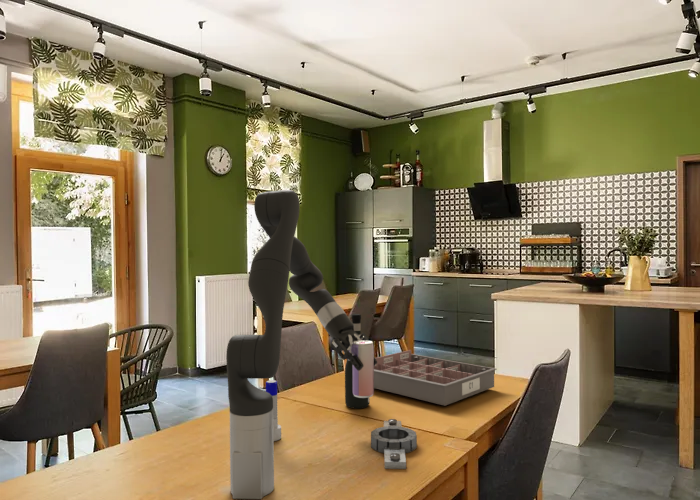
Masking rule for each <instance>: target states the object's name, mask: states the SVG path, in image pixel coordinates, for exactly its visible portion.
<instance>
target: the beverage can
mask: <svg viewBox="0 0 700 500" xmlns="http://www.w3.org/2000/svg"><path fill="white" fill-rule="evenodd" d="M374 347H375V345H374V342H373V341H372V340H369V341H354V342H353V350H354V352H355V356H357V357H358V358H359V360H360V361H361V362H362V364H363V368H362V369H361V370H359V371H358V370H357V369H356V368H355V367H354V365H353V395H354V396H355V397H358V398H368V397H370V398H371V397H373V395H374V394H375V388H374V357H375V354H374V352H375V351H374Z"/></svg>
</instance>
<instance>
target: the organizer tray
mask: <svg viewBox="0 0 700 500" xmlns="http://www.w3.org/2000/svg"><path fill="white" fill-rule="evenodd" d="M375 359H376V360H377V364H376V365H375V366H374V389H377V390H380V391H384V392H389V393H392V394H397V395H400V396H405V397H409V398H413V399H415V400H416V399H417V400H421V401H425V402H429V403H432V404H437V405H441V406H447V405H451V404H453V403H455V402H458V401H460V400H464V399H466V398H469V397H472V396H474V395H477V394H479V393H481V392H484V391H487V390H489V389H493V388H495V371H496V370H497V368H495V367H491V366H489V367H488V366H484V365H479V364H478V365H477V364H471V363H466V362H460V361H455V360H454V361H453V360H449V359H443V358H437V357H431V356H426V355H421V354H414V353H412V349H408V350H405V351H400V352H395V353H391V354H386V355H383V356H379V357H378V356H377V357H375Z"/></svg>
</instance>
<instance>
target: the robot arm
mask: <svg viewBox="0 0 700 500" xmlns="http://www.w3.org/2000/svg"><path fill="white" fill-rule="evenodd" d="M253 205H254V206H253V207H254V214H255V217H256V219H257V221H258V223H259V225H260V227H261V228H262V229H263V231H264V232H265V233H266V235H267V237H269V239H268V240H267V241H266V242H265V243H264V244H263V245H262V246H261V247H260V249H259V250H258V251H257V252H256V253H255V255H254V257H253V258H252V261H251V266H250V271H249V275H248V281H247V282H248V284H247V285H248V289H249V292H250V294H251V297H252V298H253V300H254V303H255V304H256V305H257V307H258V309H259V310H260V313H261V315H262V318H263V320H264V323H265V324H264V325H265V330H264V334H236V335H233V336H232V337H230V339H229V340H228V343H227V347H226V355H225V357H226V374H227V375H226V377H227V388H228V389H227V390H228V391H227V393H228V396H227V397H228V403H229V404H228V405H229V457H230V458H229V461H230V462H229V465H230V466H229V468H230V470H229V471H230V472H229V474H230V477H229V478H230V493H231V496H232V499H235V500H238V499H239V500H241V499H242V500H262V499H263V498H264V497H265V496H267V495H270V494H271V493H272V492H273V490H274V489H275V469H274V468H275V466H274V465H275V460H274V459H275V458H274V455H275V453H274V452H275V451H274V446H275V445H274V444H275V443H274V441H273V398H272V395H271V394H270V393H268V392H266V390H263V389H260V388H259V387H257V386H255V385H253V384H252V382H250V381H249V379H260V380H261V379H263V380H264V379H265V380H266V379H271V378H274V377H275V376H276V374H277V371H278V370H279V365H280V357H281V347H282V345H281V344H282V329H283V327H282V326H283V317H284V309H285V301H286V295H287V289H288V286H289V288H290V290H291V291H292V293H294V294H295V295H296V296H298V297H299V298H300V299H302V300H303V301H304V302H305V303H307V305H308V306H309V307H310V308H311V310H312V311H313V312H314V313H315V315H316V317H317V318H318V320H319V322H320V324H321V325H322V327H323V328H324V329H325V331H326V332H327V334H328V335H329V336H330V338H331V339H332V341H331V343H330V346H331V347H332V348H333V350H334V351H335V352H336V354H337V355H338V356H339V357H340V358H341V359H342V360H343V361H346V360H347V359H348V360H349V361H351V363H352V364H353V365H354V367H355V368H356V369H357V370H358V371H359V370H361V369H362V368H363V364H362V362H361V361H360V360H359V358H358V357H357V356H355V352H354V350H353V342H354V341H370V340H369V338H368V336H367V335H366V333H364V332H362V333H361V335H358V334H357V333H356V332H355V331H354V324H353V323H352V319H350V317H349V316H348V315H347V313H346V312H345V311H344V309H343V308H342V307H341V305H339V303H338V302H337V301H336V299H335V298H334V297H333V296H332V294H331V293H330V292H329V290H327V289H325V288H322V289H318V290H315V291H314V289H316V288H317V287H319V286H321V285H322V283H323V281H324V275H323V273H322V271H321V270H320V269H319V268H318V267H317V265H315V263H313V262H312V260H311V258H310V255H309V253H308V250H307V247H305V246H306V245H304V243H303V242H302V241H301V240H300V239H298V238H297V237H296V236H295V235H296V230H297V226H298V222H299V218H300V209H301V208H300V199H299V196H298V194H297V193H296V191H294V190H291V189H282V190H280V189H279V190H271V191H265V192H261V193H258V194H257V195H256V196H255V199H254V204H253ZM290 273H291V274H292V275H291V276H290ZM375 358H376V357H375V356H374V366H375V365H376V364H377V360H376V359H375Z"/></svg>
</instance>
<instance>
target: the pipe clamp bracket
mask: <svg viewBox="0 0 700 500" xmlns="http://www.w3.org/2000/svg"><path fill="white" fill-rule="evenodd" d="M417 436H418V435H417V432H416V431H415V430H413V429H412V428H409V427H405V426H402V421H401V420H397V419H395V418H389V419H388V420H383V426H381V427H377V428H375V429H373V430H372V431H370V447H371V449H372V450H374V451H375V452H378V453H381V454H384V455H383V457H384V469H388V470H390V469H391V470H406V469H407V459H406V454H408V453H411V452H412V453H413V451H415V450H416V449H417V447H418V444H417V443H418V442H417V440H418V438H417Z"/></svg>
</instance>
